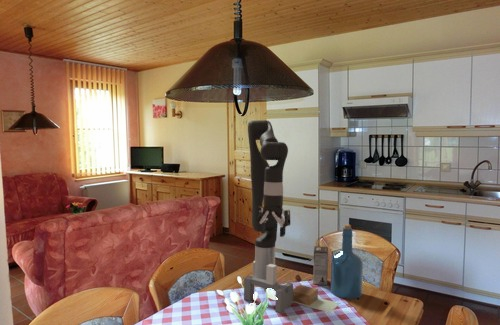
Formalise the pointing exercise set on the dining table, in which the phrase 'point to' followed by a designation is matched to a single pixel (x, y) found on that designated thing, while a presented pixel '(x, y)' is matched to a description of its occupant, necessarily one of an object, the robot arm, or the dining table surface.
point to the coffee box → (320, 265)
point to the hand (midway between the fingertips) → (272, 234)
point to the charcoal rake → (282, 291)
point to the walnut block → (305, 294)
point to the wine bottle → (346, 269)
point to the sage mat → (322, 305)
